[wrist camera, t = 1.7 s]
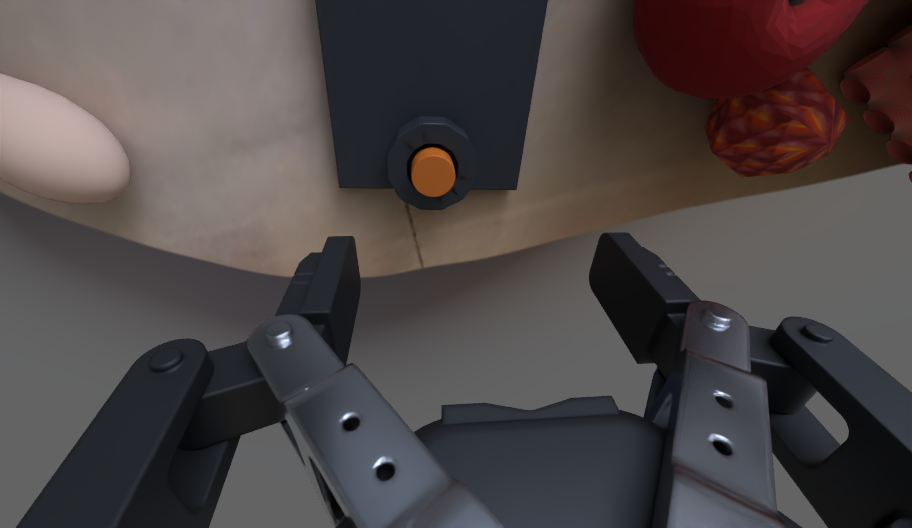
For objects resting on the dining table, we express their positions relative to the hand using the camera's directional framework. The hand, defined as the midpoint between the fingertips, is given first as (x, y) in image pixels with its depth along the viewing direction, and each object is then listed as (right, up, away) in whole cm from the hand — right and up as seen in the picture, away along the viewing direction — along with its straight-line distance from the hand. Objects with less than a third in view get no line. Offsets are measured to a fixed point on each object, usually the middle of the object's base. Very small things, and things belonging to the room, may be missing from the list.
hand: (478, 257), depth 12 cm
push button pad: (-2, +11, +10) cm, 15 cm away
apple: (+12, +15, +9) cm, 22 cm away
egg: (-20, +4, +10) cm, 22 cm away
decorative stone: (+18, +11, +13) cm, 25 cm away
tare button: (-2, +6, +11) cm, 12 cm away
